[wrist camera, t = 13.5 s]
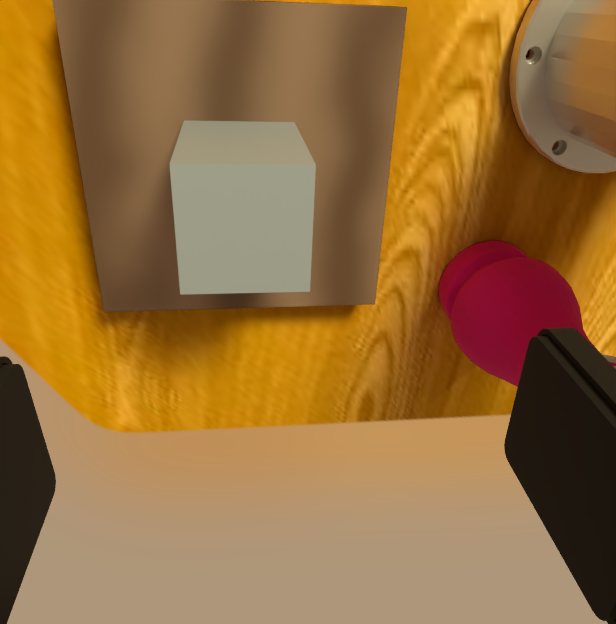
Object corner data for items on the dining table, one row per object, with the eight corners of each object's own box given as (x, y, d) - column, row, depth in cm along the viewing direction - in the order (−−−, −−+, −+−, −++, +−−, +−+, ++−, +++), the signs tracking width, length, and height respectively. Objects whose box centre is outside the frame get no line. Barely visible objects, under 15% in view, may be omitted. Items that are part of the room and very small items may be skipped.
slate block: (294, 122, 28) (315, 164, 22) (291, 224, 31) (310, 291, 24) (184, 120, 28) (169, 163, 21) (190, 225, 30) (180, 294, 24)
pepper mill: (441, 342, 40) (606, 614, 22) (420, 254, 36) (597, 498, 19) (540, 308, 39) (785, 558, 22) (529, 216, 36) (812, 429, 18)
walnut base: (393, 6, 29) (406, 7, 26) (366, 285, 37) (374, 304, 34) (65, -7, 27) (51, -7, 24) (111, 291, 35) (103, 312, 32)
